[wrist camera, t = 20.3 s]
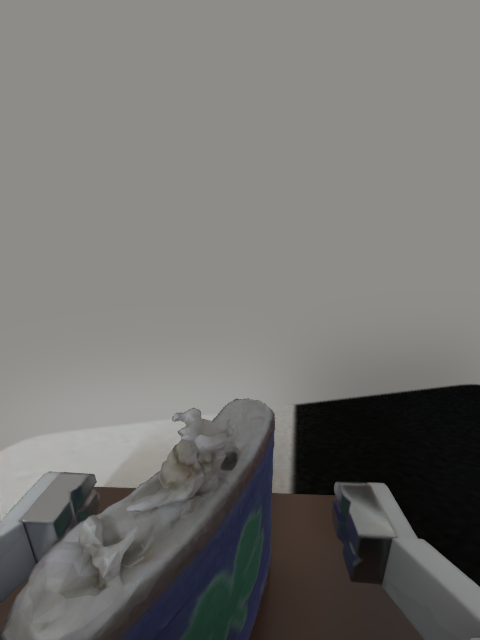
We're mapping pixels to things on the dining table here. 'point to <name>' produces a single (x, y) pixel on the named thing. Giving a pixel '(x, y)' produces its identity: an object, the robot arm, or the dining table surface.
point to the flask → (167, 546)
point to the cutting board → (304, 579)
